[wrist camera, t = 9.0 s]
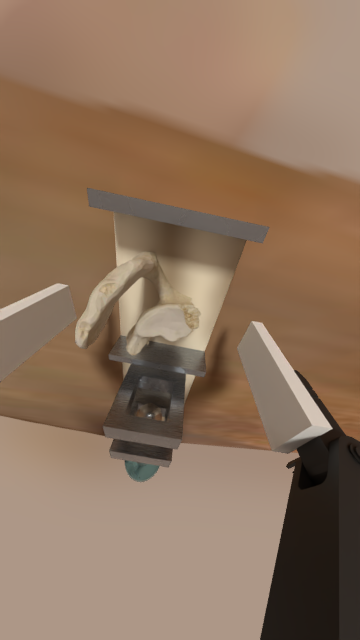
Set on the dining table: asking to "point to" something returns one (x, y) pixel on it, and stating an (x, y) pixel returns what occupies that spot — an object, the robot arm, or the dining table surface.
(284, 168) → the dining table surface
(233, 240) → the board
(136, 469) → the shaft
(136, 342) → the bone
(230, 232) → the grey angular blocks
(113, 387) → the dining table surface
